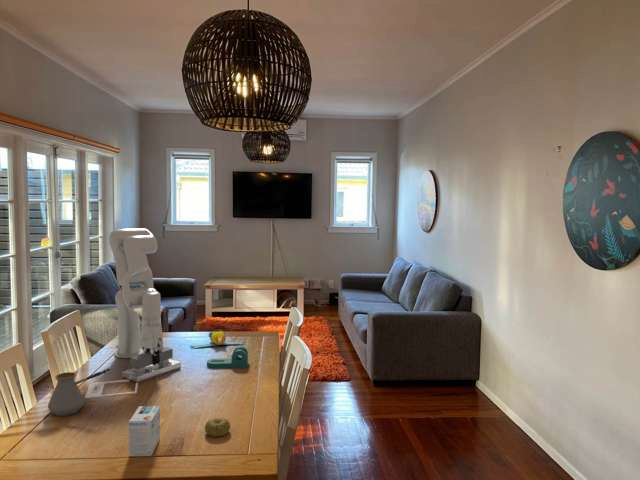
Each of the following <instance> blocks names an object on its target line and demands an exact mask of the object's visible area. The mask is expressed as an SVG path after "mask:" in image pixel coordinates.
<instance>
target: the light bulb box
mask: <svg viewBox="0 0 640 480" xmlns="http://www.w3.org/2000/svg"><path fill="white" fill-rule="evenodd" d="M160 409H161V406H160V405H145V406H144V405H143V406H142V405H141V406H140V405H139V406H138V407H137V408H136V410H135V412H134V413H133V415H132V416H131V418H130V419H129V420H128V422H127V424H128V456H129V457H151V456H152V455H153V452H154V451H155V450H156V447H157V445H158V444H159V441H160V439H161V418H160V417H161V413H160V412H161V410H160Z"/></svg>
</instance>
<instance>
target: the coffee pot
mask: <svg viewBox="0 0 640 480" xmlns="http://www.w3.org/2000/svg"><path fill="white" fill-rule="evenodd" d="M107 372H109V374H110V375H112V374H113V369H112V368H107V369H103V370H101V371H99V372H96V373H93V374H91V375H89V376H87V377H85V378H83V379H82V378H81V379H80V380H78V381H75V378H76V376H77V374H76V372H72V371H71V372H70V371H69V372H62V373H59V374H56V375H55V379H56V381H57V383H56V385H55V388H54V390H53V392H52V394H51V397H50V400H49V401H48V405H47V408H48V410H49V411H50V412H51V413H52V414H54V415H55V416H59V417H64V416H70V415H74V414H76V413H77V412H79V410H80V409H81V408H83V406H84V404H85V402H86V401H85V400H86V398H85V396H83V394H82V392H81V390H80V388H79V386H78V384H81V383H83V382H85V381H88V380H91V379H94V378H96V377H100V376H101V375H103V374H106V373H107Z"/></svg>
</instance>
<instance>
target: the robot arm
mask: <svg viewBox="0 0 640 480" xmlns="http://www.w3.org/2000/svg"><path fill="white" fill-rule="evenodd" d="M108 237H109V239H108V241H109V246H110V250H111V251H112V253H113V254H112V255H113V256H114V260H115V261H114V262H115V272H116V273H115V274H116V280H117V284H118V285H119V286H121V290H118V291H117V292H116V294H115V296H114V297H115V298H114V300H115V305H116V306H115V307H116V311H117V312H116V313H117V335H118V336H117V337H118V343H117V344H115V348H116V349H117V351H116V352H115V353H114V355H115V357H116V358H118V359H130V358H131V357H134V356H137V355H141V354H144V353H147V352H151V351H153V355H154V356H153V365H156V364H159V363H160V354H161V352H162V351H163V350H164V347H165V346H163V345H164V336H163V335H164V334H163V327H162V318H161V317H162V308H161V306H162V303H161V302H162V301H161V293H160V292H159V291H157V289H156V288H155V287H154V277H153V272H152V269H151V267H150V265H149V261H148V257H147V254H155V253H156V252H157V250H158V241H157V239H156V236H154V234H153V233H152V232H151V231H150V230H148V229H147V228H143V227H141V228H139V227H138V228H118V229H113V230H111V231H110V233H109V236H108ZM131 286H133V288H131ZM134 286H141V287H134ZM140 308H141V320H140V316H139V314H138V313H137V312H136V311H135V309H140ZM140 321H141V323H140ZM156 350H157V351H156Z"/></svg>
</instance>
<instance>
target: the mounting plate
mask: <svg viewBox="0 0 640 480" xmlns="http://www.w3.org/2000/svg"><path fill="white" fill-rule="evenodd" d="M181 364H182V363H181V361H178V360H175V359H172V358H170V359H169V364H166V365H163V366H162V365H159V364H156V365H153V364H152V365H149V366H146V367H145V372H143V373H140V374H138V373H135V368H130V369H127V370H123V371H121V376H122V377H121V378H122V380H129V381H128V382H130V383H132V384H133V383H134V384H136V383H138V385H139V384H141V383H144V382H147V381H149V380H153V379H157V378H159V377H162V376H164V375H167V374H169V373H173V372H176V371H178V370H181V368H182V365H181Z"/></svg>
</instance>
